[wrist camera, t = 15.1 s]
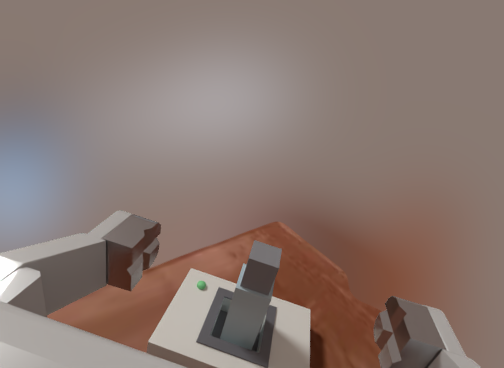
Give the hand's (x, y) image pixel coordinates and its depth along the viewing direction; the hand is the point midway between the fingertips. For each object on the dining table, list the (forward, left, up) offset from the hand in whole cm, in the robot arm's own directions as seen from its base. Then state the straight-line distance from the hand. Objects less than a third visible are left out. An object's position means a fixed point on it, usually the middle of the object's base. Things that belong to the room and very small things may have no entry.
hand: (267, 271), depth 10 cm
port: (-4, -16, -27) cm, 32 cm away
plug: (-4, -16, -26) cm, 31 cm away
